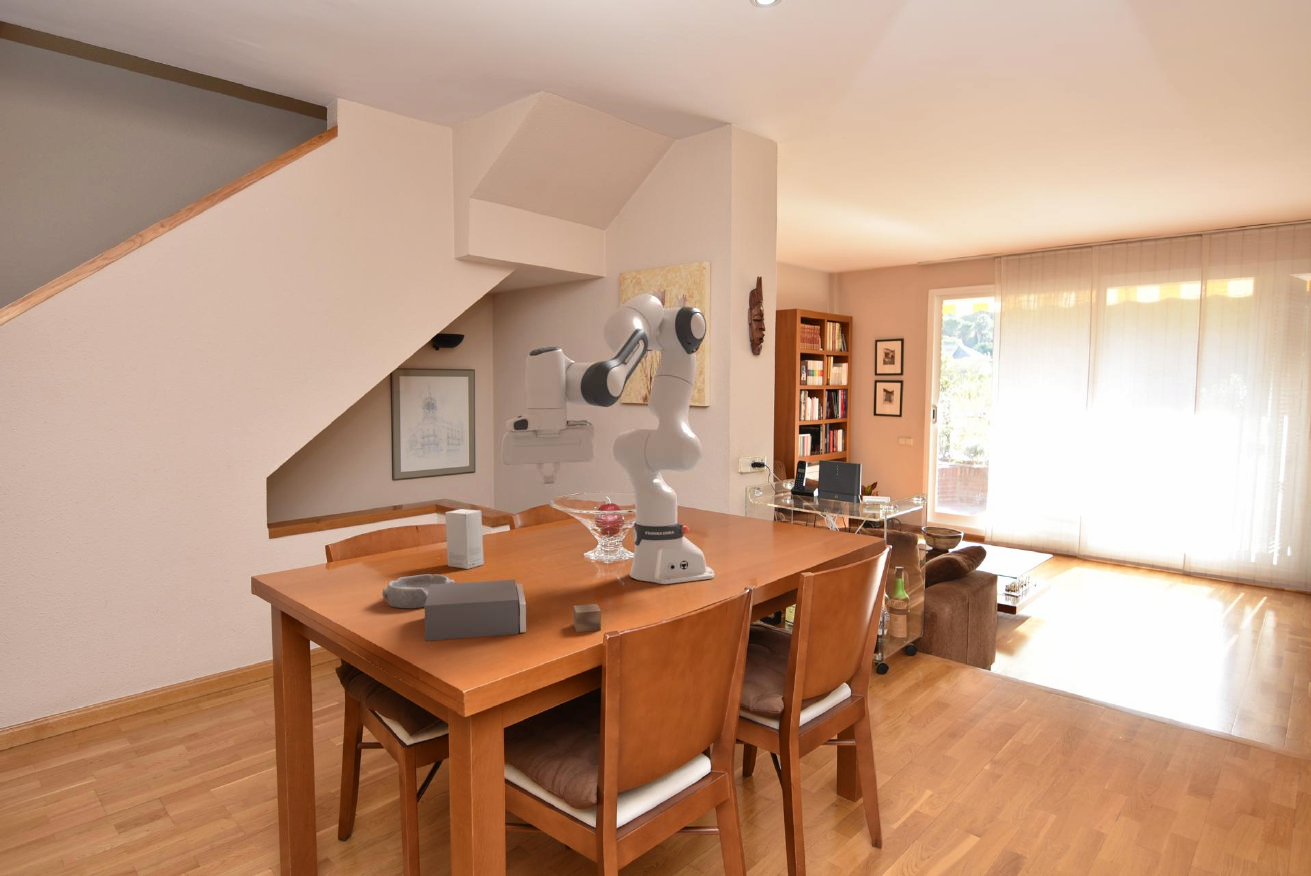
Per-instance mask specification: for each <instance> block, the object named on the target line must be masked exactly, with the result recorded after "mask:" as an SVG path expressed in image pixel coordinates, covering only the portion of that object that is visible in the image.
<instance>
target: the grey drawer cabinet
mask: <svg viewBox="0 0 1311 876" xmlns="http://www.w3.org/2000/svg"><path fill="white" fill-rule="evenodd" d="M516 584H517V583H516V580H515V579H506V580H505V579H504V580H502V579H501V580H485V581H469V582H467V581H466V582H454V583H448V584H430V588H429V592H428V595H427V599H426V602H425V607H424V639H425V640H424V641H425V642H426V641H427V642H428V641H441V640H451V639H452V640H453V639H467V638H470V639H471V638H481V637H483V638H484V637H495V636H507V635H519V633H520V629H519V616H518V595H517V589H516Z"/></svg>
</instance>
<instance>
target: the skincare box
mask: <svg viewBox="0 0 1311 876" xmlns="http://www.w3.org/2000/svg"><path fill="white" fill-rule="evenodd" d="M444 514H445V530H446V531H445V533H446V552H447V567H453V568H459V569H464V570H469V569H473V568H477V567H480V566H484V544H483V543H484V541H483V540H484V539H483V524H482V523H483V522H482V521H483V519H482V510H475V509H463V508H461V509H455V510H451V511H446V512H444Z"/></svg>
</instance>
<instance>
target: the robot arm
mask: <svg viewBox="0 0 1311 876" xmlns="http://www.w3.org/2000/svg"><path fill="white" fill-rule="evenodd" d="M706 321H707V320H706V318H705V316H704V314H703V313H702V311H701V310H700V309H699V308H697V307H691V306H683V307H666V308H664V306H663V304H662V302H661V301H660V300H659V299H658V298H657V297H656V296H654V295H652V294H649V293H642V294H638V295H636V296H634V297H632V298H631V299H629V300H628V301H626V302H625V303H623V304H622V305H621V306H619V307H618V308H617V309H616V310H615V311H614V312H613V313H612V314H611V315H609V317H608V318H607V320H606V322H604V325H603V339H604V341H605V343H606V345H607V346H608V348H609V349H610V350H611V351H612V353H613V354H612V356H611V357H610V358H609V359H607V360H602V361H594V362H576V361H574V360H572V359H570V358H569V357H568V356H566V355H565V354H564V351H563V350H562V348H561V347H558V346H548V347H541V348H536V349H533V350H532V351H530V352H529V353H528V355H527V357H526V362H525V373H524V374H525V376H524V377H525V391H526V394H527V401H526V405H525V406H526V407H525V408H526V409H525V411H526V413H525V414H523V415H519V416H517V417H514V418H511V419H508V420H507V421H506V423H505V426H506V430H507V431H506V432H505V433H504V435H503V438H502V441H501V442H502V443H501V463H502V464H503V465H505V466H512V465H513V466H514V465H515V466H516V465H517V466H518V465H535V467H536V469H537V471H538V473H539V474H540V476H541V484H542V485H548V484H556V476H557V474H558V472H559V471H560V469H561V464H562V463H563V464H565V463H583V462H584V463H585V462H586V463H588V462H592V460H593V459H594V457H595V454H594V445H593V438H594V437H595V429H594V428H595V427H594V425H593V423H591V422H590V421H588V420H585V419H584V420H583V419H582V420H574V419H572V420H568V413H567V412H568V410H567V409H568V408H567V406H568V405H572V406H574V405H575V406H595V407H603V408H609V407H611V406H612V407H613V405H615V404H616V403H617V402H618V401H619V400H620V398H621V396H622V394H623V393H624V390H625V387H626V385H627V383H628V380H629V379H630V377H631V376H632V375H633V373H634V372H635V370H636V368H637V367H638V366H639V364H640V363H641V361H642V360H643V358H644V357H645V355H646V354H647V352H652V351H660V360H659V363H658V365H657V367H656V370H655V374H654V378H653V381H652V386H651V389H650V393H649V397H648V400H647V405H648V408H649V411H650V413H651V414H652V415H653V416H655V417H656V418H657V419H658V426H657V429H645V428H643V429H641V428H636V429H635V428H634V429H631V430H625V431H622V432H620V433H619V434H618V435H617V436H616V438H615V440H614V442H613V446H612V453H613V457H614V459H615V461H616V463H617V464H618V465H619V466H621V468H622V469H623V470H624V471H625V473H626V474H627V476H628V479H629V480H630V483H631V486H632V489H633V493H634V499H635V500H634V501H635V503H634V505H635V522H634V523H633V543H634V550H633V551H634V553H633V559H632V564H631V568H630V571H629V577H630V578H633V579H635V580H638V581H643V582H651V583H656V584H660V585H669V584H677V583H686V582H693V581H702V580H712V579H714V578H715V571H714V570H713V569H712V568H711V567H709V566H708V565H707V564H706V563H707V562H706V558H705V555H704V552H703V551H702V550H701V549H700V548H699V547H698V546H697V545H695V544H694V543H693V542H692V541H691V540H689V539H688V538H686V536H685V535H688V534H689V533H690V531H691V530H690V527H689V526H687V525H684V524H681V523H679V522H678V495H677V493H676V491H675V490H674V489H673V488H672V487H670V485H668V484H667V483H666V482H665V480H664V478H663V476H662V473H661V472H664V473H665V472H666V473H682V472H689V471H693V470H695V469H696V468H697V467H698V465H699V464H700V462H701V460H702V457H703V445H702V443H701V441H700V439H699V437H698V436H697V435H696V434H695V433H694V431H693V430H692V428H691V426H690V422H689V421H690V420H689V412H690V410H689V409H690V406H691V405H690V404H691V400H692V396H693V391H694V388H695V383H696V375H697V355H696V353H697V351H698V350H699V349H700V347H701V344H702V343H703V341H704V339H705V336H706V333H707V322H706ZM544 464H552V467H553V468H554V469H553V471H552V473H551V474H545V473H544V472H543V470H542V469H544Z"/></svg>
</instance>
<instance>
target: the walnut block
mask: <svg viewBox="0 0 1311 876" xmlns="http://www.w3.org/2000/svg"><path fill="white" fill-rule="evenodd" d="M572 608H573V610H572V611H573V612H572V613H573V616H572V617H573V621H572V622H573V623H572V624H573V627H574V629H575V632H576V633H579V632H580V633H582V632H593V631H596V632H597V631H601V630H602V629H601V628H602V627H601V626H602V619H601V618H602V617H601V616H602V611H601V609H600V607H599V605H598V604H597V603H595V604H594V603H593V604H579V605H578V604H577V605H576V604H575V605H573V607H572Z"/></svg>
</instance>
